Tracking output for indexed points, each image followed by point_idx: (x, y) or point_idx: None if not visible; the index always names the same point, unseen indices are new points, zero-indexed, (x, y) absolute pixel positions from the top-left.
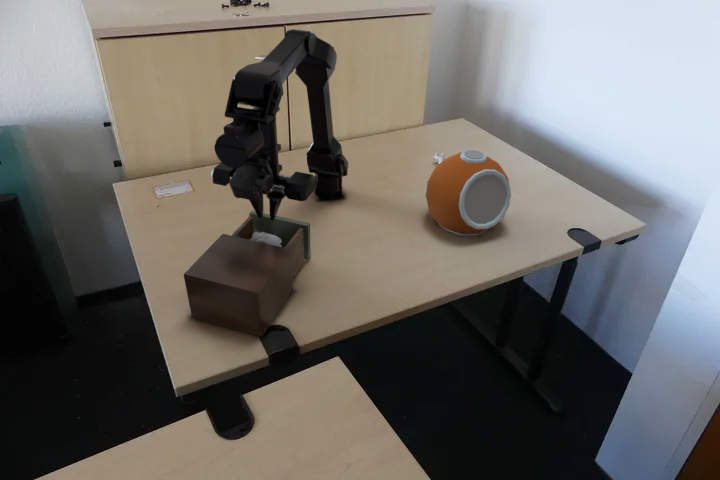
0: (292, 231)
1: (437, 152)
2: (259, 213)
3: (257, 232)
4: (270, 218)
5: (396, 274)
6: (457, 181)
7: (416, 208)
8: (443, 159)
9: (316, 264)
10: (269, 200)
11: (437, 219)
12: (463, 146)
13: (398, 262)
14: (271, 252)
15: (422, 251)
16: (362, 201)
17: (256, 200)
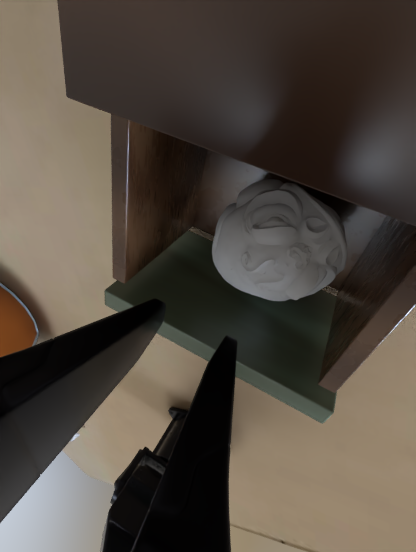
0: (177, 294)
1: (70, 440)
2: (212, 356)
3: (290, 294)
4: (157, 308)
5: (21, 178)
6: None
7: None
8: None
9: None
10: (1, 412)
11: (4, 308)
12: None
13: (33, 217)
14: (139, 34)
15: (17, 246)
16: (140, 389)
17: (169, 462)
